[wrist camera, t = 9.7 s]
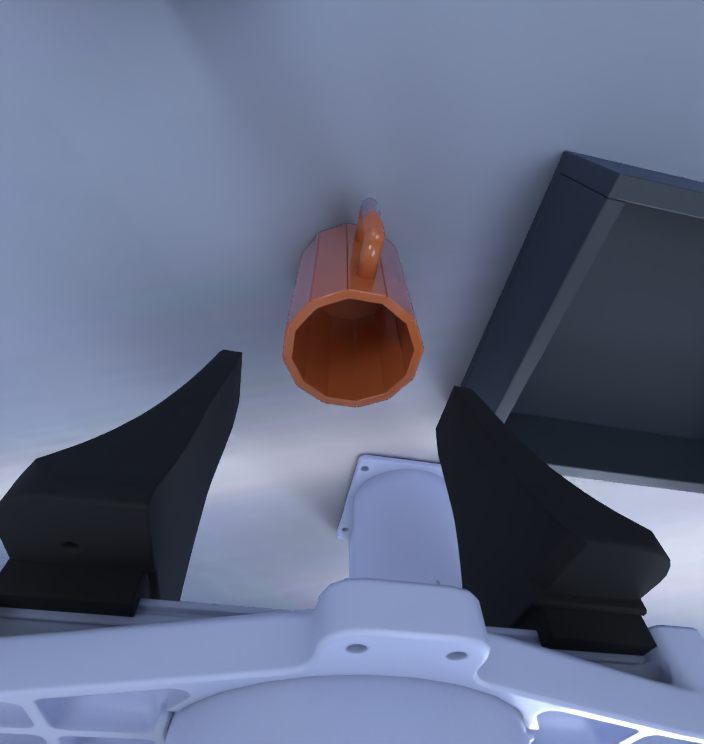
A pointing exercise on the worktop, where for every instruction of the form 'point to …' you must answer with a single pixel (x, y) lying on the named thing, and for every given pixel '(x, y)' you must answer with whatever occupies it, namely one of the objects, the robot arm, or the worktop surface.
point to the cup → (352, 316)
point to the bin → (605, 329)
